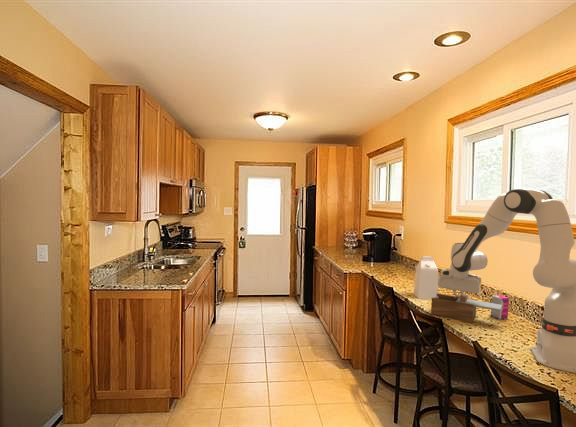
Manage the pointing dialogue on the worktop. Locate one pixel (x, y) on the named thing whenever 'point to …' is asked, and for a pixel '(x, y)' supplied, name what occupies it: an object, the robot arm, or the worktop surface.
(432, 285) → the milk
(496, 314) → the supplement box
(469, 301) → the lid
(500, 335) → the worktop surface
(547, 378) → the worktop surface
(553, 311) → the robot arm
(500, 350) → the worktop surface
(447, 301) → the wooden box
